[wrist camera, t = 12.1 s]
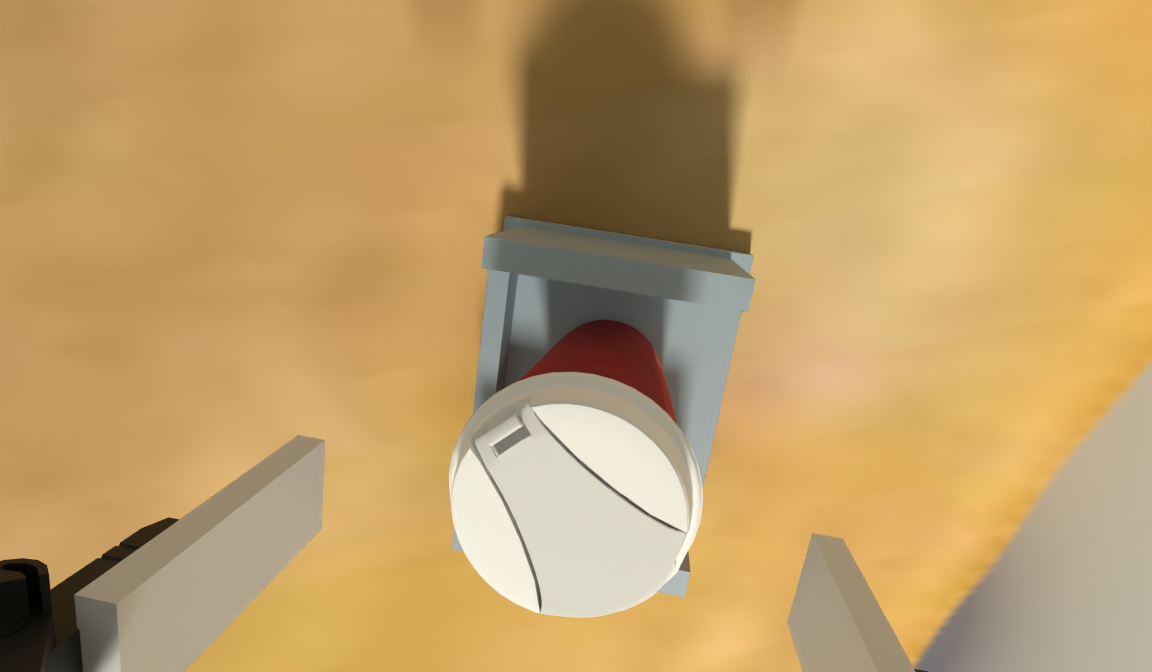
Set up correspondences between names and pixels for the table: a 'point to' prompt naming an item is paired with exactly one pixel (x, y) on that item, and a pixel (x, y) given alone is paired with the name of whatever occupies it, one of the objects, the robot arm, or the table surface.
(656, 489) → the paper cup
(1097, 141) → the table surface
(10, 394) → the table surface
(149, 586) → the robot arm
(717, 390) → the holder
